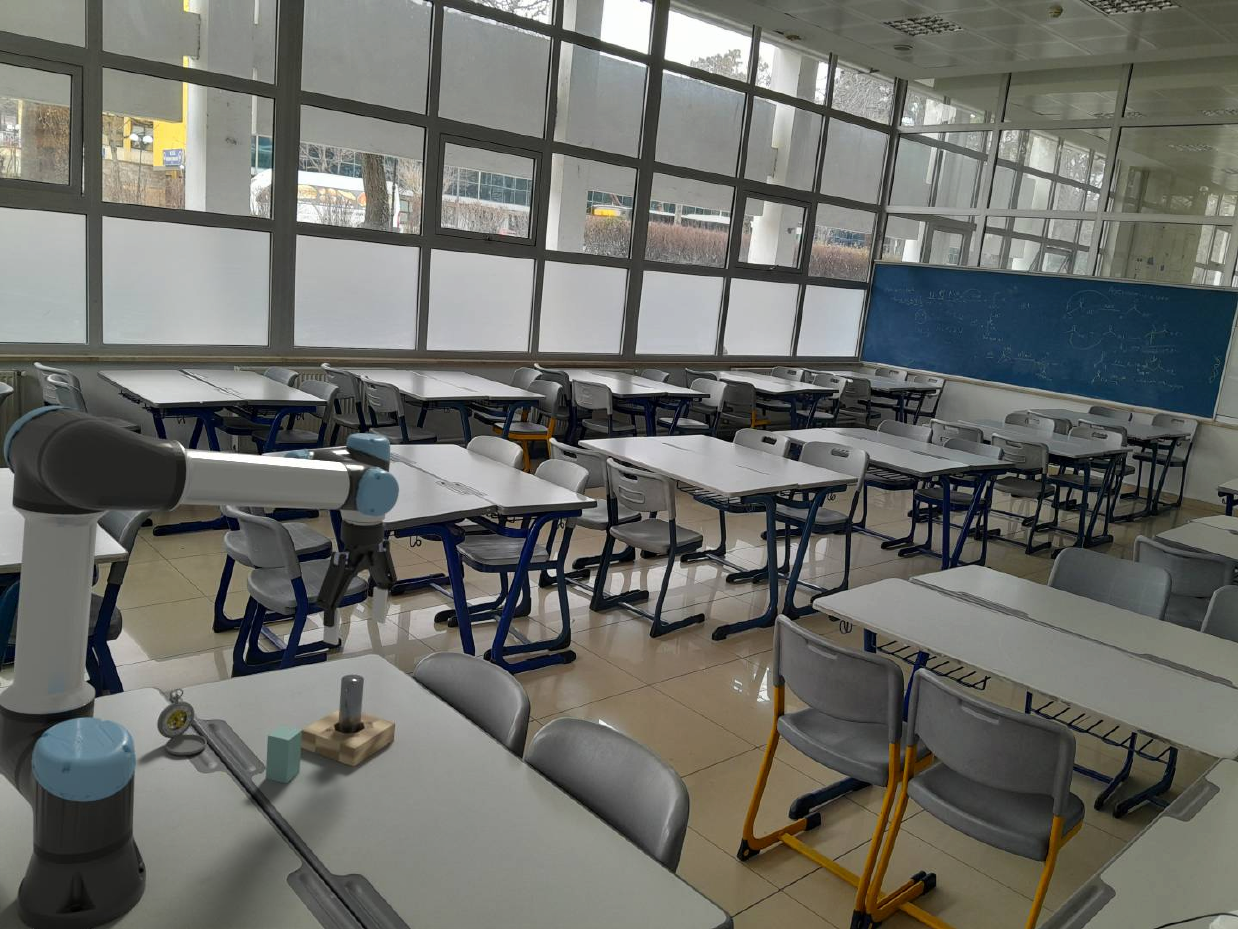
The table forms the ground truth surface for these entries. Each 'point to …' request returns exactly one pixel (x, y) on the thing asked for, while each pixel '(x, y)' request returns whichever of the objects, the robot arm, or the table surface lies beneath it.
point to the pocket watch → (179, 728)
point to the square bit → (283, 754)
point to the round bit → (350, 704)
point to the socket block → (347, 738)
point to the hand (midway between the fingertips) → (355, 631)
